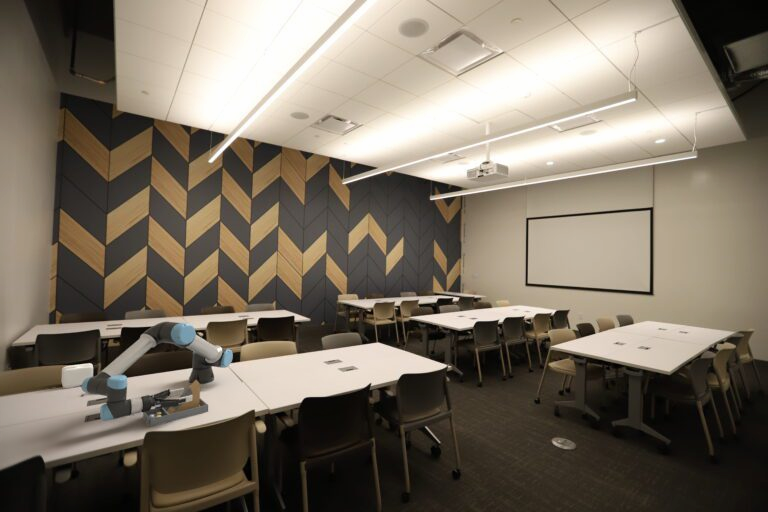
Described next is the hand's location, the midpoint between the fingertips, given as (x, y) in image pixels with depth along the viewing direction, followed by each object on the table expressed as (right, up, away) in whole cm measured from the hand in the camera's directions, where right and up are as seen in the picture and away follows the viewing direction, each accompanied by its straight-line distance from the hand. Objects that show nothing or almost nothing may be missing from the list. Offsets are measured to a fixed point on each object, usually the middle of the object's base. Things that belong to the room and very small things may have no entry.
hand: (187, 394), depth 190 cm
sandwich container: (-3, -10, -1) cm, 10 cm away
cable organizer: (-88, -7, +33) cm, 94 cm away
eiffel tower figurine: (-66, -8, +22) cm, 70 cm away
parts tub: (-4, -9, -4) cm, 11 cm away
